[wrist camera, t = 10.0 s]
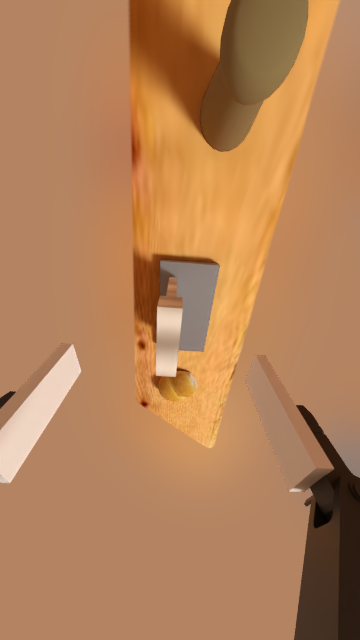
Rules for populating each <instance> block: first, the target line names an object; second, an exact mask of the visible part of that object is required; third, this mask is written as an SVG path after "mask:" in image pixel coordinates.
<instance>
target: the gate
mask: <svg viewBox="0 0 360 640" xmlns="http://www.w3.org/2000/svg"><path fill="white" fill-rule="evenodd" d="M176 294H177V278H175V277H169V282H168V288H167V294H166V296H162V295H160V298H159V302H158V306H157V342H156V376H169V377H176V370H177V360H178V350H179V341H180V331H181V322H182V312H183V300H182V297H176Z"/></svg>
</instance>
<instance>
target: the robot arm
mask: <svg viewBox="0 0 360 640" xmlns="http://www.w3.org/2000/svg"><path fill="white" fill-rule="evenodd" d="M80 373H81V369H80V366H79V362H78V359H77V356H76V353H75V350H74V347H73V344H65V343H61V344H60V346H59V347H58V348H57V349H56V350H55V351H54V352H53V353H52V354H51V355H50V356H49V357H48V358H47V360H46V361H45V362H44V363H43V364H42V365H41V366H40V367H39V368H38V369H37V370H36V371H35V372H34V373H33V375H32V376H31V377H30V378H29V379H28V380H27V381H26V382H25V383H24V384H23V385H22V386H21V387H20V388H19V390H18V391H17V392H11V391H10V392H9V393H7V394H6V395H4V396H3V397H1V398H0V483H10V482H11V481H12V479H13V478H14V476H15V474H16V473H17V471H18V469H19V468H20V466H21V465H22V463H23V462H24V460H25V459H26V457H27V456H28V454H29V452H30V451H31V449H32V448H33V446H34V445H35V443H36V441H37V440H38V438H39V437H40V435H41V434H42V432H43V431H44V429H45V427H46V425H47V424H48V423H49V421H50V420H51V418H52V416H53V415H54V413H55V412H56V410H57V409H58V407H59V405H60V404H61V402H62V401H63V399H64V398H65V396H66V394H67V393H68V391H69V390H70V388H71V387H72V385H73V384H74V382H75V380H76V379H77V377H78V376H79V374H80ZM245 381H246V384H247V386H248V389H249V391H250V394H251V396H252V399H253V402H254V404H255V407H256V409H257V412H258V414H259V417H260V419H261V422H262V424H263V427H264V429H265V432H266V435H267V437H268V440H269V442H270V445H271V447H272V450H273V452H274V455H275V458H276V460H277V463H278V465H279V468H280V470H281V473H282V475H283V478H284V480H285V483H286V486H287V488H288V491H291V492H292V491H293V492H305V491H306V490H307V489H308V488H310V489H311V491H312V493H313V496H311V497H310V498H308V499H307V500H306V501H305V503H304V504H305V505H306V506H308V505H310V504H311V508H310V515H309V523H308V531H307V540H306V548H305V556H304V564H303V572H302V580H301V589H300V596H299V605H298V613H297V621H296V629H295V637H294V640H360V478H359V477H356V476H355V475H353V474H352V473H351V472H350V470H349V469H348V468H347V466H346V465H345V463H344V462H343V461H342V459H341V457H340V456H339V454H338V453H337V451H336V450H335V448H334V447H333V446H332V444H331V442H330V441H329V439H328V438H327V436H326V435H325V434H324V432H323V430H322V429H321V427H320V426H319V425H318V423H317V421H316V420H315V418H314V416H313V415H312V414H311V413H310V412H309V411H308V410H307V409H306V408H305V407H304V406H303V405H295V403H294V402H293V400H292V398H291V397H290V395H289V393H288V392H287V390H286V389H285V387H284V385H283V384H282V382H281V380H280V379H279V377H278V375H277V374H276V372H275V371H274V369H273V367H272V366H271V364H270V362H269V361H268V359H267V357H266V356H264V355H255V357H254V359H253V362H252V364H251V367H250V370H249V372H248V374H247V377H246V379H245Z"/></svg>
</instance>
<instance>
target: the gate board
mask: <svg viewBox="0 0 360 640" xmlns="http://www.w3.org/2000/svg"><path fill="white" fill-rule="evenodd" d="M219 267H220V265H219V264H218V263H207V262H194V261H182V260H169V259H161V260H160V295H162V296H166V294H167V288H168V282H169V277H175V278H177V294H176V297H182V300H183V312H182V322H181V331H180V341H179V350H184V351H201V352H203V351H204V346H205V341H206V336H207V330H208V325H209V320H210V314H211V309H212V304H213V299H214V293H215V288H216V283H217V277H218V272H219Z"/></svg>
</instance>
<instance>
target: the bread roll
mask: <svg viewBox="0 0 360 640" xmlns="http://www.w3.org/2000/svg"><path fill="white" fill-rule="evenodd" d="M158 388H159V392H160V394H161V395H162V396H163V397H164V398H165V399H166V400H169V401H179V400H182V399H184V398H185V397H191V396H193V395H194V394H195V393H196V390H197V381H196V379H195V377H194V376H193V375H192V374H191V373H190V372H187V371H176V377H169V376H162V377H161V378H160V381H159V384H158Z"/></svg>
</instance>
